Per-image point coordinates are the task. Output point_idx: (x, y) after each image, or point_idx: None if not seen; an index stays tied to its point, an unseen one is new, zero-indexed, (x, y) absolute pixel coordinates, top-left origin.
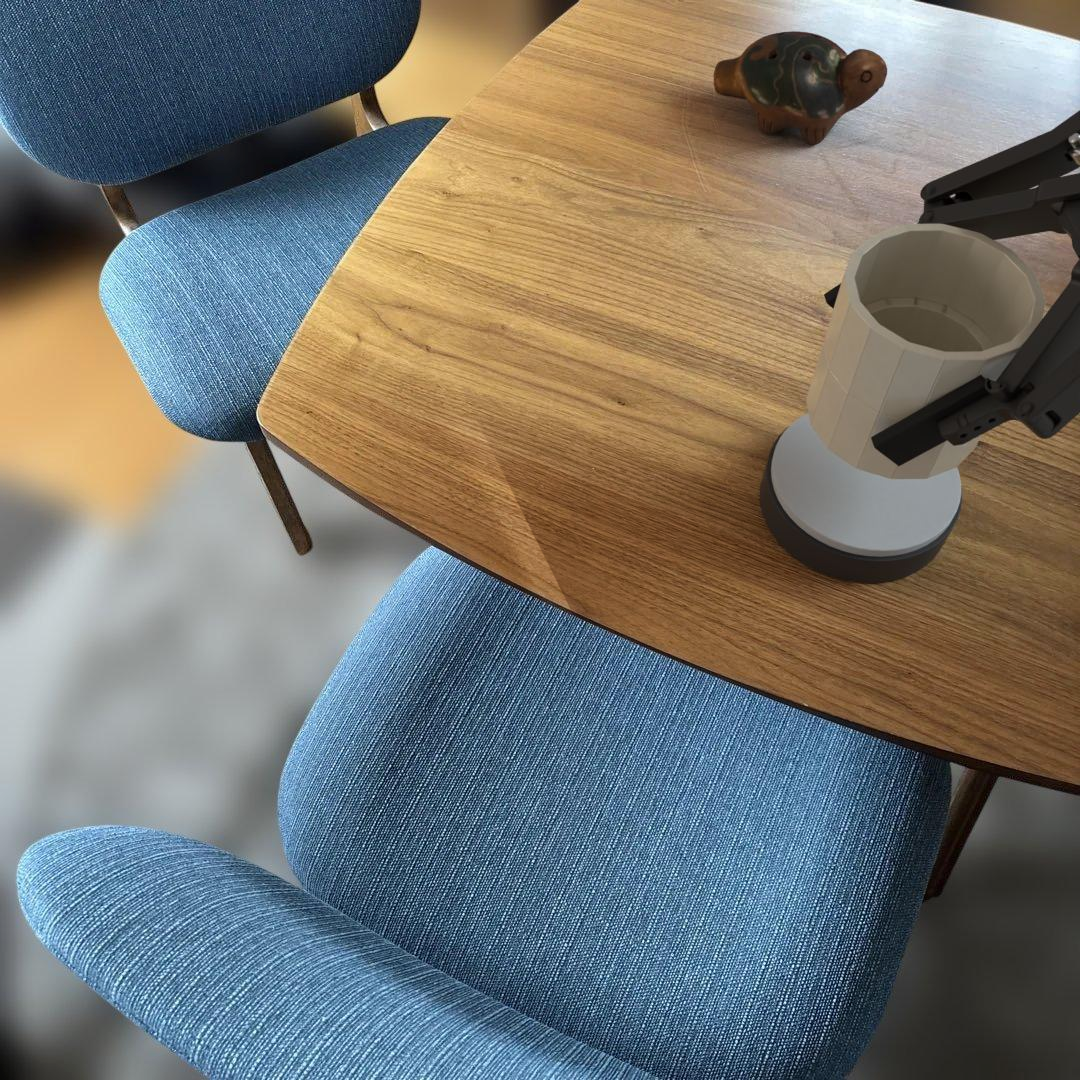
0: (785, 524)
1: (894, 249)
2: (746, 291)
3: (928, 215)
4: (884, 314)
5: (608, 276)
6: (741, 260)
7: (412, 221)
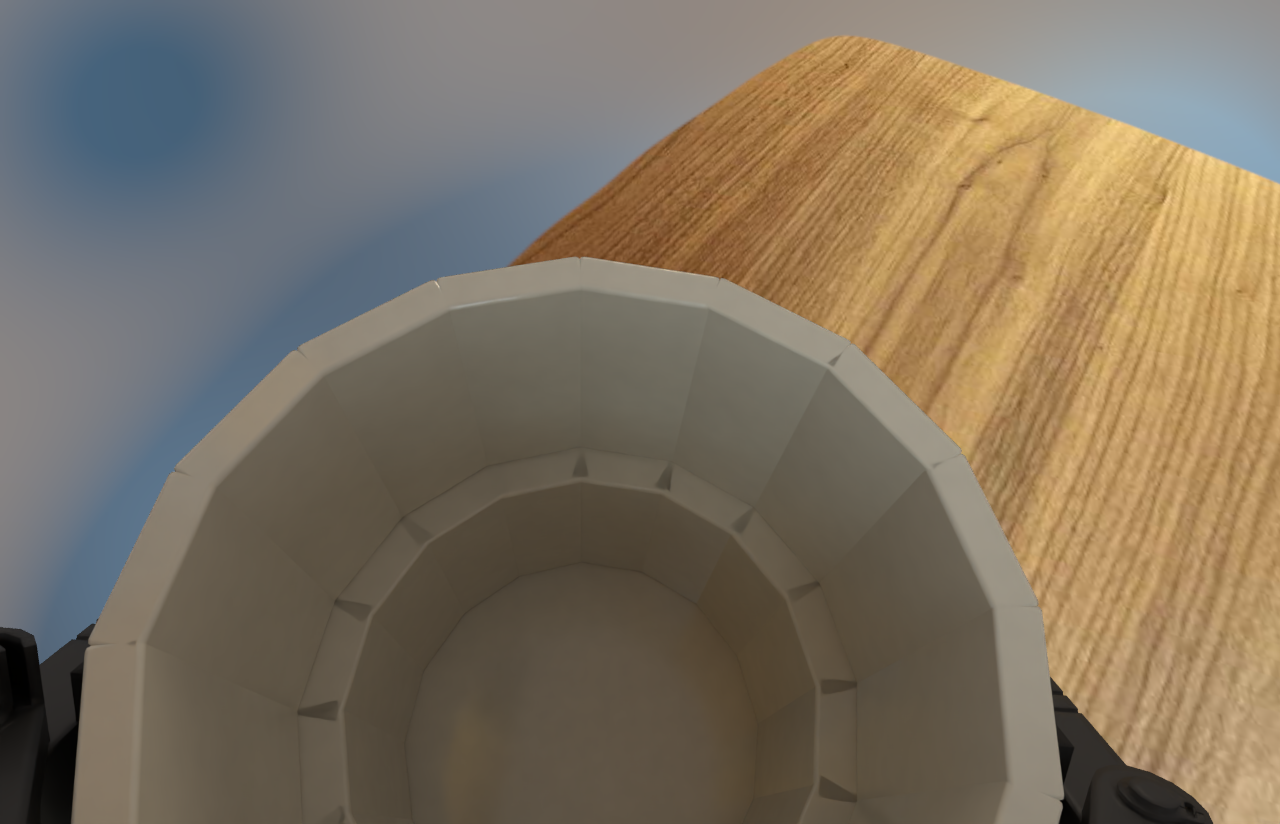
0: None
1: (930, 582)
2: (1173, 707)
3: (1157, 794)
4: (803, 679)
5: (1165, 448)
6: (1272, 722)
7: (1234, 199)
